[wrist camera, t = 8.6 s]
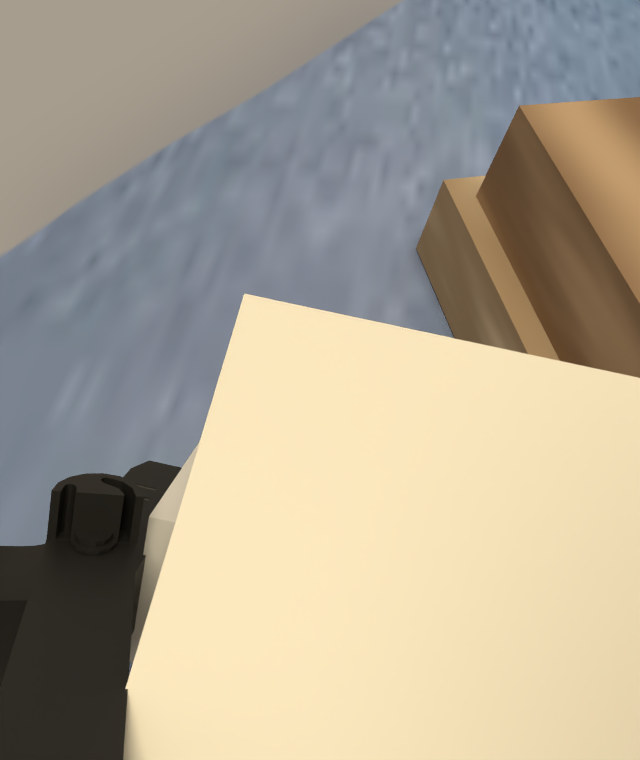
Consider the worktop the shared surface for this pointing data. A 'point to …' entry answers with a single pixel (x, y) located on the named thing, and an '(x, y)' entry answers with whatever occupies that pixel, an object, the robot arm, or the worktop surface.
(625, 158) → the block tower
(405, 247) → the worktop surface
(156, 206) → the worktop surface
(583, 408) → the cream brick
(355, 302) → the worktop surface
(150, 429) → the worktop surface
